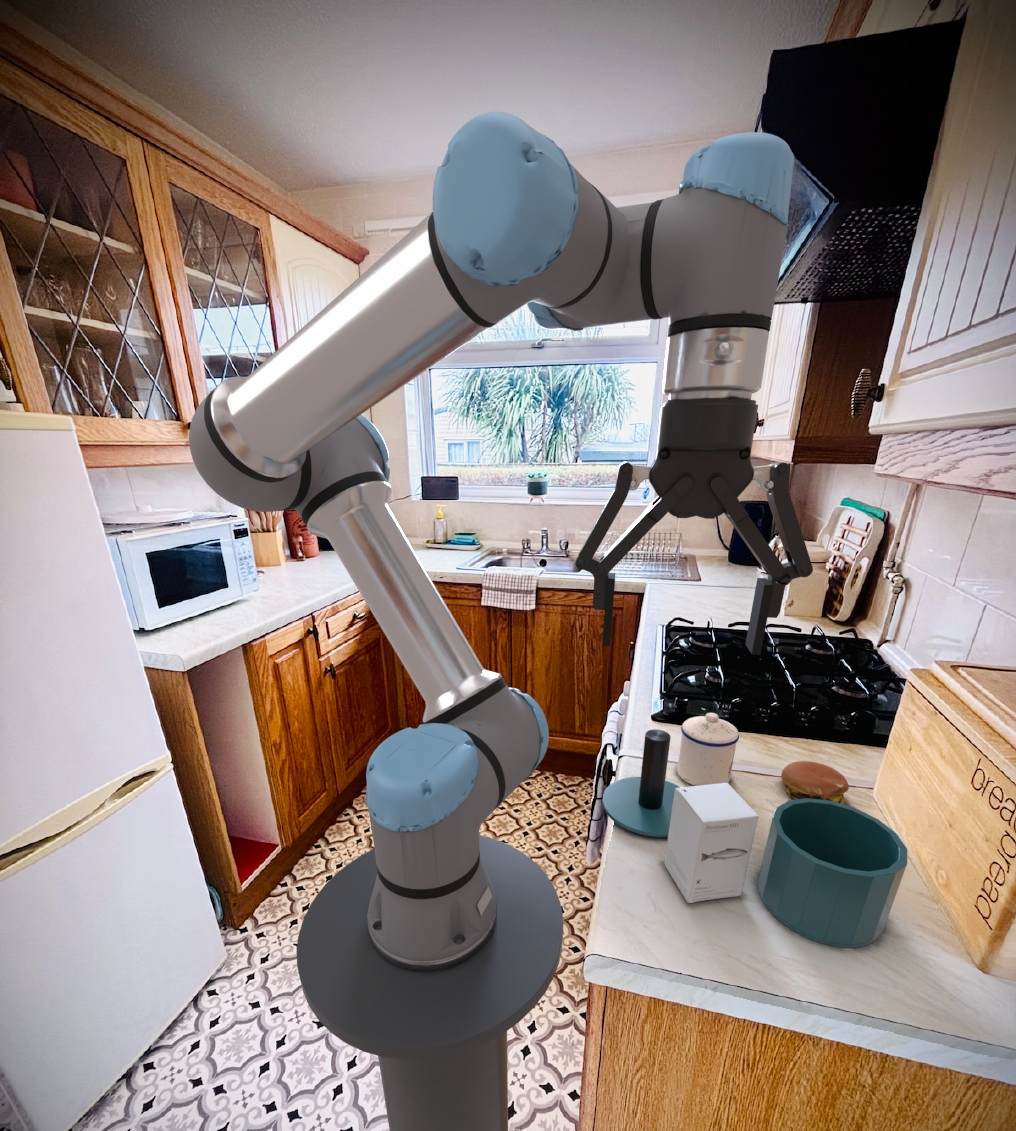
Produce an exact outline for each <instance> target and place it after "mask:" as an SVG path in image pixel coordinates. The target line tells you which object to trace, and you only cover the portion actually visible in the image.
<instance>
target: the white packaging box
mask: <svg viewBox="0 0 1016 1131" xmlns="http://www.w3.org/2000/svg"><path fill="white" fill-rule="evenodd" d="M679 787H680V788H675V792H674V800H673V806H672V813H671V820H670V827H669V834H668V837H667V842H666V849H665V855H664V862H663V864H664V866H665V867H666V869H667V871H668V873H669V875H670V876H671V878H672V880H673V881H674V883H675V884H676V886H677V887H678V890H679V891H680V893H681V894H682V896H683V898H684V900H686V902H687V904H692V903H693V904H694V903H697V902H698V903H699V902H703V901H709V900H710V901H711V900H718V899H724V898H725V899H726V898H734V897H741V896H742V893H743V890H744V884H745V880H746V874H747V870H748V865H749V861H750V856H751V852H752V847H753V843H754V840H755V833H756V830H757V825H758V820H759V814H758V813H757V812H756V811H755V810H754V809H753V808H752V807H751V806H750V804H748V802H746V801H745V799H744V798H743V797H742V796H741V795H740V794H739V793H738V792H737V791H736V790H735V789H734V788H733V786H731V784H729V782H728V783H718V784H709V785H698V786H694V785H690V786H679Z"/></svg>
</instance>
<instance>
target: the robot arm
mask: <svg viewBox="0 0 1016 1131" xmlns="http://www.w3.org/2000/svg"><path fill="white" fill-rule="evenodd" d="M794 169H795V155H794V152H792V149H791V148H790V145H789V144H788V143H787V142H786V141H785V140H784V139H783V138H781V137H779V136H777V135H775V134H772V133H767V132H760V131H759V132H756V131H750V132H739V133H733V134H729V135H725V136H722V137H719V138H716V139H715V140H714V141H713V142H711V144H706V145H703V146H701V147H699V148H698V149H696V150H695V151H693V153H692V154H691V156H689V159H688V160H687V161H686V163H685V164H684V168H683V173H682V174H683V175H682V180H681V182H680V183H679V187H678V193H677V194H675V195H672V196H668V197H665V198H661V199H658V200H657V199H656V200H655V201H653V202H647V203H640V204H636V205H630V206H624V207H617V206H616V205H614V204H613V203H612V202H611V200H609V199H608V198H607V196H605V195H604V194H603V193H602V192H601V191H600V190H599V189H598V188H597V187H596V186H594V184H592V183H591V182H589V181H588V180H587V179H586V178H585V176H583V175H582V173H581V172H579V171H578V170H577V168H576V167H574V165H573V164H572V163H571V162H570V161H569V159H568V157H567V155H566V153H565V151H564V150H563V149H562V148H561V147H560V146H558V144H556V142H555V141H554V139H551V138H549V137H548V136H547V135H545V134H543V133H541V132H539V131H538V130H536V129H535V128H534V127H532V126H530V125H529V124H527V122H525V121H524V120H523V119H522V118H520V117H518V116H516V115H514V114H512V113H510V112H505V111H488V112H484V113H481V114H478V115H476V116H474V117H473V118H471V119H470V120H468V121H466V122H465V123H464V124H463V125H462V126H460V128H458V130H457V131H456V133H454V134H453V136H452V138H451V139H450V140H449V142H448V143H447V150H446V152H445V155H444V157H443V159H442V163H441V165H439V166H438V167H437V169H436V173H435V177H434V180H433V189H432V212H431V213H429V214H428V215H427V216H426V217H425V218H423V219H422V220H421V221H420V222H419V223H418V224H417V225H416V226H415V227H414V228H412V229H411V230H410V231H409V232H408V233H407V234H405V235H404V236H403V237H402V238H401V239H400V240H399V241H398V242H397V243H395V245H393V246H392V247H391V248H389V250H388V251H386V252H385V253H384V254H383V255H382V256H381V257H380V258H379V259H377V261H375V262H374V263H373V264H372V265H371V266H369V268H367V269H366V271H364V272H363V273H362V274H361V275H359V277H357V278H356V279H355V280H354V281H353V282H351V283H350V284H349V285H348V287H347V288H345V289H344V290H343V291H341V293H339V295H337V296H336V297H335V298H334V299H333V300H332V301H330V302H329V303H328V304H327V305H326V306H325V307H324V308H323V309H321V311H319V312H318V313H317V314H316V315H315V316H313V318H311V319H310V320H309V321H308V322H307V323H306V324H305V325H304V326H303V327H301V328H300V329H299V330H298V331H297V332H296V333H294V335H293V336H291V338H289V339H288V340H287V341H286V342H285V343H284V344H282V345H281V346H280V347H279V348H278V349H277V350H276V351H274V352H273V353H272V354H271V355H270V356H269V357H268V358H267V359H266V360H264V361H263V362H262V363H261V364H260V365H258V366H257V367H256V368H255V369H254V370H253V371H252V372H251V373H250V374H249V375H247V377H246V376H237V375H236V376H230V377H228V378H225V379H224V380H221V382H219V384H217V386H216V387H214V389H212V390H211V391H210V392H209V393H208V394H207V395H206V396H205V397H204V399H202V401H201V402H200V403H199V404H198V406H197V407H196V409H195V411H194V414H192V415H193V416H192V417H191V422H190V425H189V432H188V444H189V445H188V446H189V451H190V455H191V458H192V461H193V462H192V463H193V464H194V466H195V468H196V470H197V472H198V474H199V475H200V476H201V478H202V479H203V481H204V482H205V484H206V485H207V486H208V487H209V488H210V489H211V490H212V491H213V492H214V493H215V494H216V495H218V496H219V497H220V498H222V499H223V500H225V501H226V502H228V503H230V504H232V505H235V506H236V507H239V508H242V509H245V510H247V511H248V510H249V511H253V512H258V513H259V512H261V513H271V512H273V513H274V512H283V511H293V510H294V511H295V512H297V514H298V515H299V517H300V520H302V522H303V524H304V525H305V527H306V529H307V530H308V532H309V533H310V534H311V535H313V536H316V537H319V538H323V539H326V540H328V542H329V543H330V545H331V546H332V548H333V550H334V552H335V553H336V555H337V556H338V559H339V560H340V561H341V563H342V565H343V567H344V568H345V570H346V572H347V574H348V575H349V577H350V578H351V580H352V582H353V583H354V585H355V587H356V588H357V590H358V592H359V593H360V595H361V597H362V598H363V600H364V602H365V603H366V605H367V607H368V608H369V611H370V612H371V613H372V615H373V617H374V618H375V620H376V622H377V623H378V625H379V627H380V629H381V630H382V632H383V634H384V636H385V637H386V638H387V641H388V643H389V644H390V645H391V648H392V649H393V651H394V652H395V654H396V655H397V657H398V659H399V661H400V662H401V664H402V666H403V667H404V669H405V671H406V672H407V674H408V675H409V677H410V679H411V681H412V682H413V684H414V686H415V687H416V689H417V691H418V693H419V694H420V696H421V697H422V699H423V700H424V702H425V703H424V704H425V707H424V712H423V715H422V720H421V721H422V723H423V724H419V725H418V727H417V728H412V727H410V726H409V727H406V728H404V729H401V730H398V731H397V732H395V733H393V734H391V735H390V736H388V737H387V738H386V739H385V740H383V741H382V742H381V743H380V744H379V745H378V746H377V748H376V749H375V750H374V751H373V753H372V754H371V756H370V758H369V760H368V762H367V766H366V772H365V777H366V788H365V792H366V793H365V803H366V806H367V809H368V814H369V821H370V828H371V835H372V841H373V847H374V848H373V849H375V857H376V864H377V872H378V874H377V877H376V881H375V883H374V885H373V892H372V895H371V899H370V902H369V907H368V913H367V923H368V930H369V936H370V940H371V943H372V945H373V947H374V949H375V950H376V951H377V953H378V954H379V955H380V956H381V957H382V958H383V959H384V960H386V961H387V962H389V963H390V964H392V965H394V966H396V967H398V968H401V969H404V970H408V971H414V972H435V971H441V970H445V969H449V968H452V967H454V966H457V965H459V964H461V963H463V962H465V961H467V960H468V959H470V958H471V957H473V956H474V955H475V954H477V953H478V952H479V951H480V950H481V949H482V948H483V947H484V946H485V944H486V943H487V942H488V940H489V939H490V937H491V935H492V933H493V931H494V928H495V925H496V920H497V901H496V895H495V892H494V889H493V886H492V884H491V882H490V880H489V878H488V875H487V873H486V871H485V869H484V867H483V865H482V863H481V860H480V844H479V835H480V829H481V827H482V824H483V823H484V822H485V821H486V820H487V819H488V818H489V817H490V815H492V814H493V812H494V811H495V810H496V809H497V808H499V807H500V806H501V805H502V804H503V803H504V801H505V800H507V798H509V796H510V795H511V794H512V793H513V792H514V791H515V790H516V789H517V788H518V787H520V785H521V784H522V783H524V782H526V781H527V780H528V779H529V778H530V777H531V776H532V775H533V774H534V773H535V771H536V769H537V767H538V766H539V764H540V763H541V762H542V761H543V759H544V757H545V756H546V753H547V750H548V746H549V740H550V732H549V725H548V722H547V721H548V720H547V718H546V716H545V714H544V711H543V710H542V708H541V706H540V704H539V703H538V702H537V701H536V700H535V699H534V698H533V697H532V696H531V695H529V694H528V693H524V692H522V691H521V689H518V688H515V687H509V686H508V684H507V683H506V681H505V679H504V678H503V676H502V675H501V673H498V672H495V671H491V670H489V669H486V668H484V667H483V665H482V664H481V662H480V660H479V659H478V657H477V654H476V653H475V651H474V650H473V648H472V646H471V645H470V643H469V641H468V640H467V638H466V636H465V635H464V632H463V631H462V629H461V627H460V626H459V625H458V623H457V621H456V619H455V618H454V615H453V614H452V613H451V611H450V609H449V608H448V606H447V604H446V602H445V600H444V599H443V597H442V595H441V594H440V592H439V590H438V588H437V587H436V585H435V583H434V582H433V580H432V579H431V576H430V574H429V573H428V572H427V570H426V568H425V567H424V565H423V563H422V561H421V559H420V558H419V556H418V554H417V553H416V551H415V550H414V548H413V546H412V544H411V543H410V541H409V540H408V537H407V535H406V534H405V532H404V530H403V529H402V527H401V526H400V524H399V522H398V521H397V519H396V518H395V515H394V514H393V512H392V510H391V509H390V507H389V506H390V505H389V504H390V501H391V496H392V493H393V488H392V486H391V485H390V483H389V480H390V476H391V467H390V466H389V465H388V461H390V454H389V450H388V446H387V445H386V442H385V440H384V437H383V436H382V433H380V431H379V430H378V428H377V427H376V426H375V425H374V423H372V422H371V421H370V420H369V419H368V418H367V417H366V416H364V413H366V412H367V411H369V410H370V409H372V408H373V407H374V406H376V405H377V404H379V403H380V402H383V400H385V399H386V398H387V397H389V396H391V395H393V394H394V393H395V392H396V391H398V390H400V389H401V388H403V387H404V386H406V385H407V384H408V383H410V382H412V381H413V380H414V379H416V378H417V377H418V376H420V375H422V374H423V373H425V372H426V371H427V370H429V369H431V368H432V367H434V366H435V365H436V364H438V363H439V362H441V361H442V360H444V359H445V358H447V357H448V356H450V355H452V354H453V353H454V352H456V351H457V350H458V349H460V348H462V347H463V346H464V345H466V344H467V343H469V342H470V341H472V340H473V339H475V338H477V337H478V336H480V335H481V334H483V333H484V332H485V331H487V330H488V329H490V328H493V327H494V326H496V325H497V324H499V323H500V322H502V321H503V320H505V319H507V318H508V317H509V316H511V315H513V314H514V313H515V312H517V311H518V310H520V309H521V308H523V307H525V306H526V305H527V308H528V310H529V312H530V313H531V314H532V315H533V317H534V320H535V322H536V324H538V325H539V326H540V327H541V328H543V329H545V330H548V331H558V330H559V331H560V330H570V331H573V332H579V331H583V330H584V329H588V328H594V327H595V328H596V327H602V326H610V325H617V324H625V323H626V324H627V323H633V322H641V321H648V320H653V321H655V320H663V319H667V318H668V330H667V340H666V350H665V358H664V370H663V379H662V389H661V390H662V393H663V394H664V395H665V396H668V399H667V402H664V403H663V405H662V406H660V411H659V422H658V432H657V442H656V453H655V459H654V461H653V462H652V464H651V466H647V465H638V464H632V463H630V462H629V461H623V462H621V463H620V464H619V466H618V470H617V476H616V481H615V486H614V489H613V491H612V493H611V494H610V496H609V498H608V500H607V502H606V503H605V505H604V507H603V509H602V511H601V513H600V514H599V516H598V518H597V520H596V521H595V523H594V525H593V527H592V529H591V531H590V533H588V534H589V535H588V536H587V538H586V540H585V541H584V543H583V545H582V547H581V549H580V550H579V553H578V554H577V556H576V559H575V563H574V564H575V567H576V568H577V569H578V570H579V571H586V572H588V573H589V574H591V575H592V577H593V594H592V606H593V609H594V610H595V611H604V615H603V628H602V629H603V630H602V642H601V643H602V645H601V646H602V647H611V641H612V629H613V628H612V627H613V615H614V603H615V602H614V600H615V586H616V572H611V571H612V570H613V569H614V568H615V566H617V565H618V564H619V563H620V562H621V560H622V559H624V558H625V556H626V555H627V554H628V553H629V552H630V551H631V550H632V549H633V548H634V547H635V546H636V545H637V544H638V543H639V542H640V541H641V540H642V539H643V538H644V537H645V536H646V535H647V534H648V532H649V531H650V530H651V529H653V528H654V526H655V525H657V523H659V522H660V521H661V520H662V519H663V518H664V517H665V516H666V515H667V514H670V515H671V516H673V517H675V518H676V519H690V518H693V517H697V518H698V517H699V518H701V519H706V520H709V519H710V520H715V519H716V518H717V517H720V516H722V515H723V514H724V516H725V517H726V518H727V519H728V521H729V522H730V523H731V525H732V526H733V527H734V529H735V530H736V532H737V533H738V535H739V536H740V537H741V539H742V541H743V542H744V543H745V544H746V546H747V548H748V549H749V551H750V552H751V553H752V555H753V556H754V557H755V559H756V560H757V562H758V563H759V564H760V566H761V567H762V569H763V570H764V572H765V573H766V574H767V577H756V583H755V589H754V594H753V601H752V605H751V610H750V617H749V623H748V627H747V634H746V639H745V646H746V647H747V649H748V651H749V652H750V654H751V655H755V656H756V655H757V656H760V655H762V650H763V643H764V638H765V634H766V628H767V622H768V618H771V619H777V618H778V617H779V615H780V613H781V610H782V604H783V599H784V595H785V590H786V586H788V585H790V584H791V582H792V580H794V579H799V578H808V577H809V576H811V575H812V574H813V571H814V568H813V564H812V561H811V558H810V557H811V556H810V554H809V551H808V549H807V544H806V542H805V541H806V540H805V538H804V535H803V532H802V529H801V525H800V522H799V520H798V516H797V513H796V509H795V507H794V504H793V501H792V498H791V494H790V491H789V490H790V480H791V466H790V465H789V464H788V463H786V462H780V461H773V462H771V463H770V464H767V465H760V466H759V465H757V466H753V464H752V458H751V455H752V448H753V442H754V441H753V440H754V436H755V435H754V434H755V430H756V429H755V428H756V423H757V417H758V410H759V404H757V401H756V400H755V399H752V396H753V394H755V393H757V392H759V391H760V390H761V388H762V384H763V378H764V372H765V371H764V370H765V363H766V358H767V350H768V343H769V336H770V331H771V327H772V326H771V325H772V319H773V315H774V314H773V313H774V308H775V302H776V296H777V290H778V284H779V280H780V274H781V268H782V267H781V266H782V263H783V262H782V261H783V255H784V249H785V246H786V245H785V244H786V238H787V234H788V231H789V226H790V224H789V211H790V202H791V194H792V186H793V178H794V177H793V176H794ZM645 480H648V482H649V484H650V485H651V487H652V488H653V490H654V492H655V493H656V495H657V496H656V497H655V499H654V500H652V502H650V504H649V505H648V506H647V507H646V508H645V510H644V511H643V512H642V513H641V515H639V516H638V518H636V520H634V522H633V523H632V524H631V525H630V526H629V527H628V528H627V529H626V530H625V531H624V533H623V534H621V535H620V537H618V539H617V540H616V541H615V542H614V543H613V544H612V545H611V546H610V547H609V548H608V549H607V551H606V552H605V553H604V554H603V555H601V557H600V558H598V557H596V556H595V555H596V552H597V551H598V549H599V547H600V545H601V544H602V542H603V540H604V539H605V537H606V535H607V533H608V531H609V530H610V527H611V526H612V525H613V523H614V521H615V519H616V517H617V516H618V514H619V512H620V510H621V509H622V507H623V505H624V504H625V502H626V499H627V497H628V495H629V492H630V491H636V490H637V489H638V488H639V487H640V485H641V483H642V482H644V481H645ZM753 481H755V482H756V483H757V485H758V489H759V490H760V491H762V492H765V493H766V498H767V503H768V505H769V508H770V511H771V514H772V517H773V518H772V519H773V521H774V523H775V527H776V531H777V533H778V535H779V539H780V543H781V546H782V548H783V551H784V555H785V557H786V561H787V562H784V563H782V562H781V560H780V559H779V557H778V556H777V554H776V553H775V551H774V550H773V549H772V547H771V546H770V545H769V543H768V541H767V540H766V539H765V536H763V534H762V533H761V532H760V530H759V528H758V527H757V526H756V524H755V522H753V520H752V518H751V516H750V515H749V513H748V511H747V510H746V508H745V507H744V506H743V504H742V502H741V501H740V500H739V497H740V496H741V494H742V493H744V492H745V490H746V489H747V488H748V487H749V486H750V484H751V483H752V482H753Z"/></svg>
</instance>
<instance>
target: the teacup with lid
mask: <svg viewBox="0 0 1016 1131" xmlns="http://www.w3.org/2000/svg"><path fill="white" fill-rule="evenodd" d="M680 731H681V738H680V746H679V753H678V761H677V768H676V769H677V770H676V772H677V774H678V776H679V777H680V778H681V780H683V781H684V782H686V783H688V784H689V785H691V786H698V785H709V784H718V783H728V784H729V783H730V780H731V775H732V770H733V764H734V758H735V755H736V754H735V753H736V749H737V748H736V747H737V743H738V741H739V739H740V734H739V730H738V729H737V727H736V726H734V724H732V723H730V722H729V721H727V720H725V719H721V718H720V717H719V715H718V714H717V713H715V712H707V713H706V714H705V715H699V716H693V717H689V718H687V719H686V720H685V721H683V723H682V725H681V726H680Z"/></svg>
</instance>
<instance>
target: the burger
mask: <svg viewBox="0 0 1016 1131" xmlns="http://www.w3.org/2000/svg"><path fill="white" fill-rule="evenodd" d="M781 779H782V781H781V786H782V788H783V790H784V791H785V792H786V793H787V794H788V795H789V796H790V797H792V798H793V800H798V799H805V798H809V799H819V800H828V801H833V802H837V803H840V804H844V805H845V803H846V801H845V800H846V799H845V796H844V794H845V793H847V792H848V791H849V788H850V786H849V785H850V784H849V783H848V781H847V779H846V777H845V776H844V775H843V774H842V773H841V772H839V771H838V770H836V769H835V768H833V767H831V766H829V765H826V764H824V763H820V762H816V761H810V760H803V761H802V760H800V761H799V760H798V761H793V762H791V763H789V764H787V765H786V766H785V767H784V768H783V769H782V771H781Z"/></svg>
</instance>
